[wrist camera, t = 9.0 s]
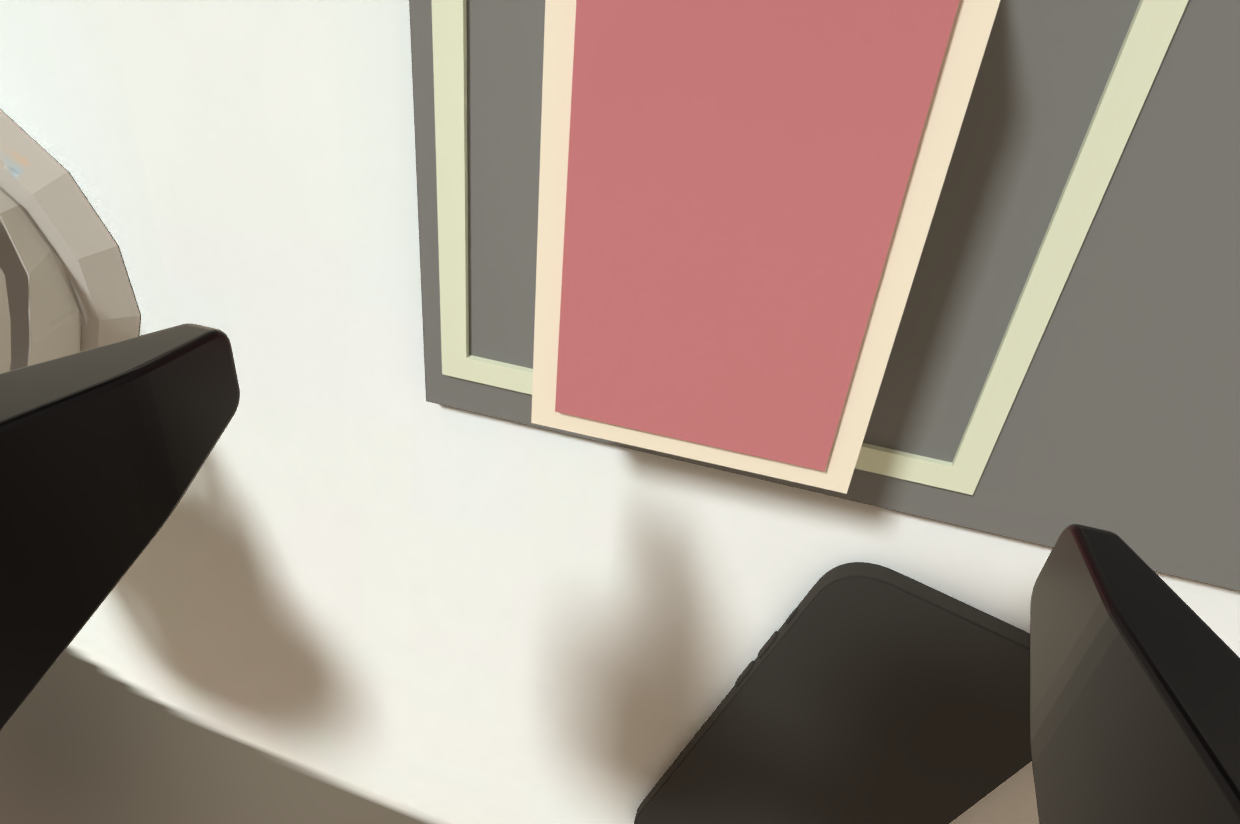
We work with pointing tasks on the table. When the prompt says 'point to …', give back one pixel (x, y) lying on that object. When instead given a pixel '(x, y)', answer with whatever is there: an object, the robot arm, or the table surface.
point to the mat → (945, 273)
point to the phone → (860, 714)
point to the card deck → (738, 217)
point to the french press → (54, 262)
